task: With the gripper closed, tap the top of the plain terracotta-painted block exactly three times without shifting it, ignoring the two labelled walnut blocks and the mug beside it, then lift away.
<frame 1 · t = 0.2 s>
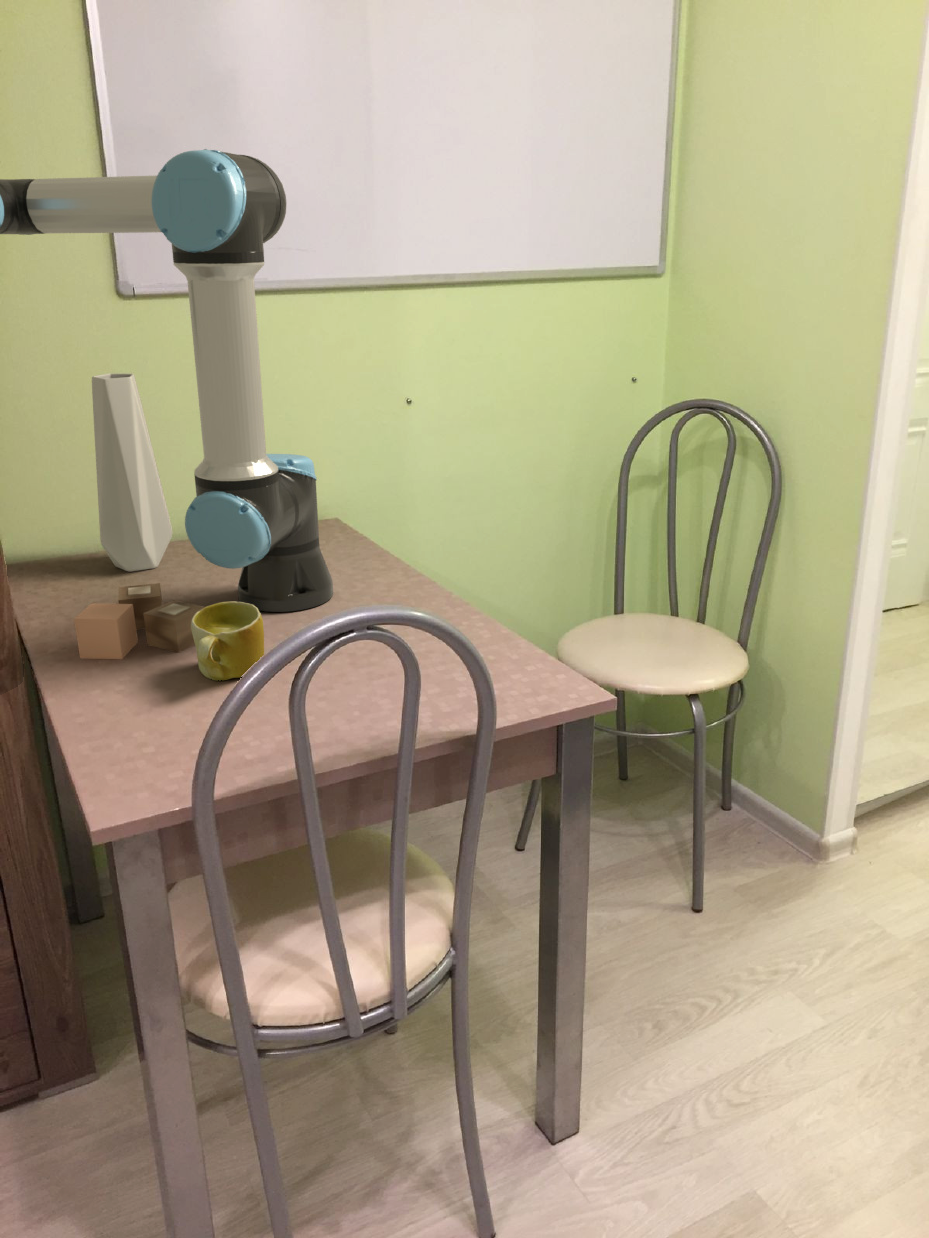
vase: (140, 565, 180), on the table
mug: (226, 675, 136), on the table
plain block: (109, 650, 144), on the table
walnut block a: (178, 642, 146), on the table
walnut block b: (143, 622, 154), on the table
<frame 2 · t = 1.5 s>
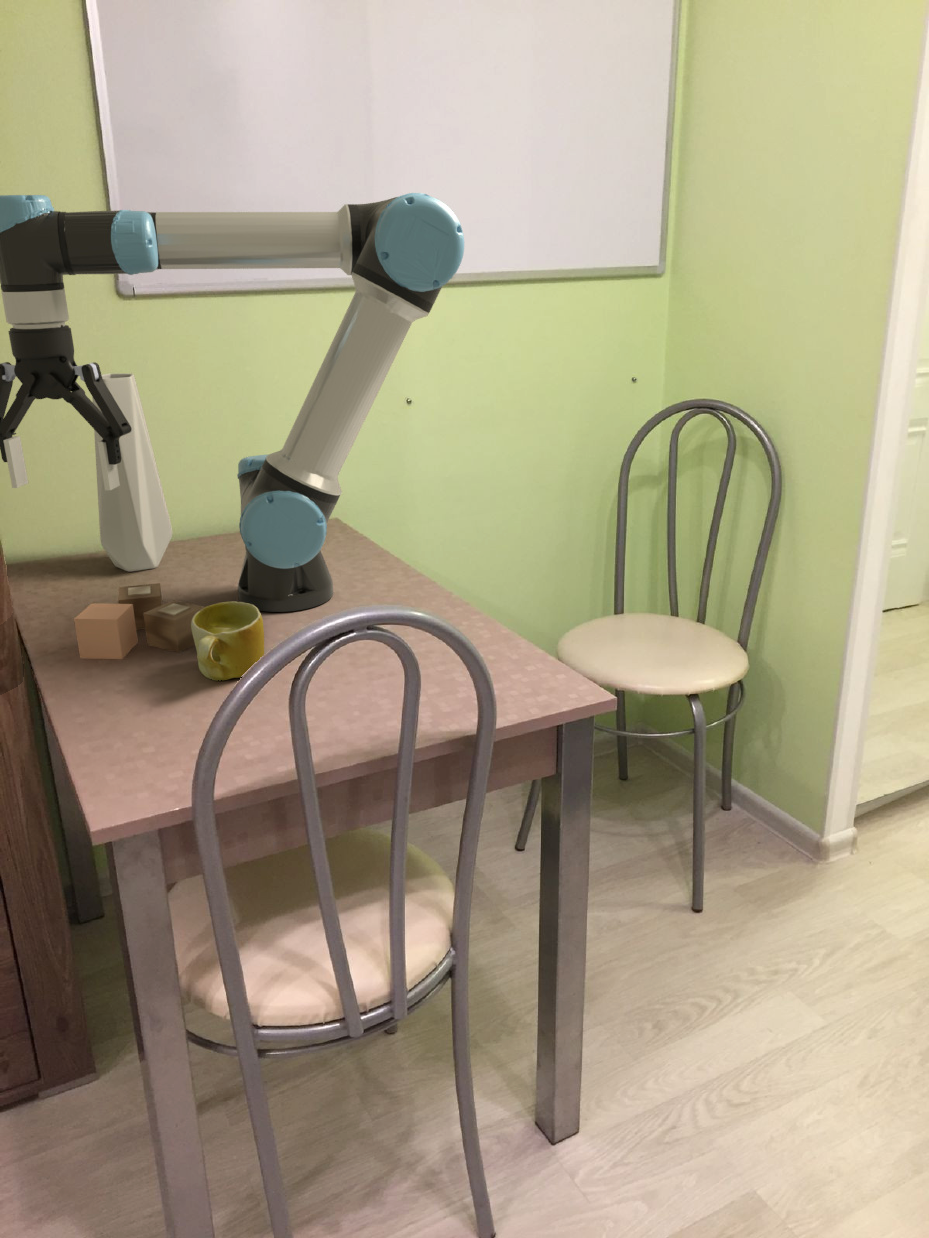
hand: (66, 487, 138), 23 cm above the table, fingers open, 13 cm apart
nothing on the table moved.
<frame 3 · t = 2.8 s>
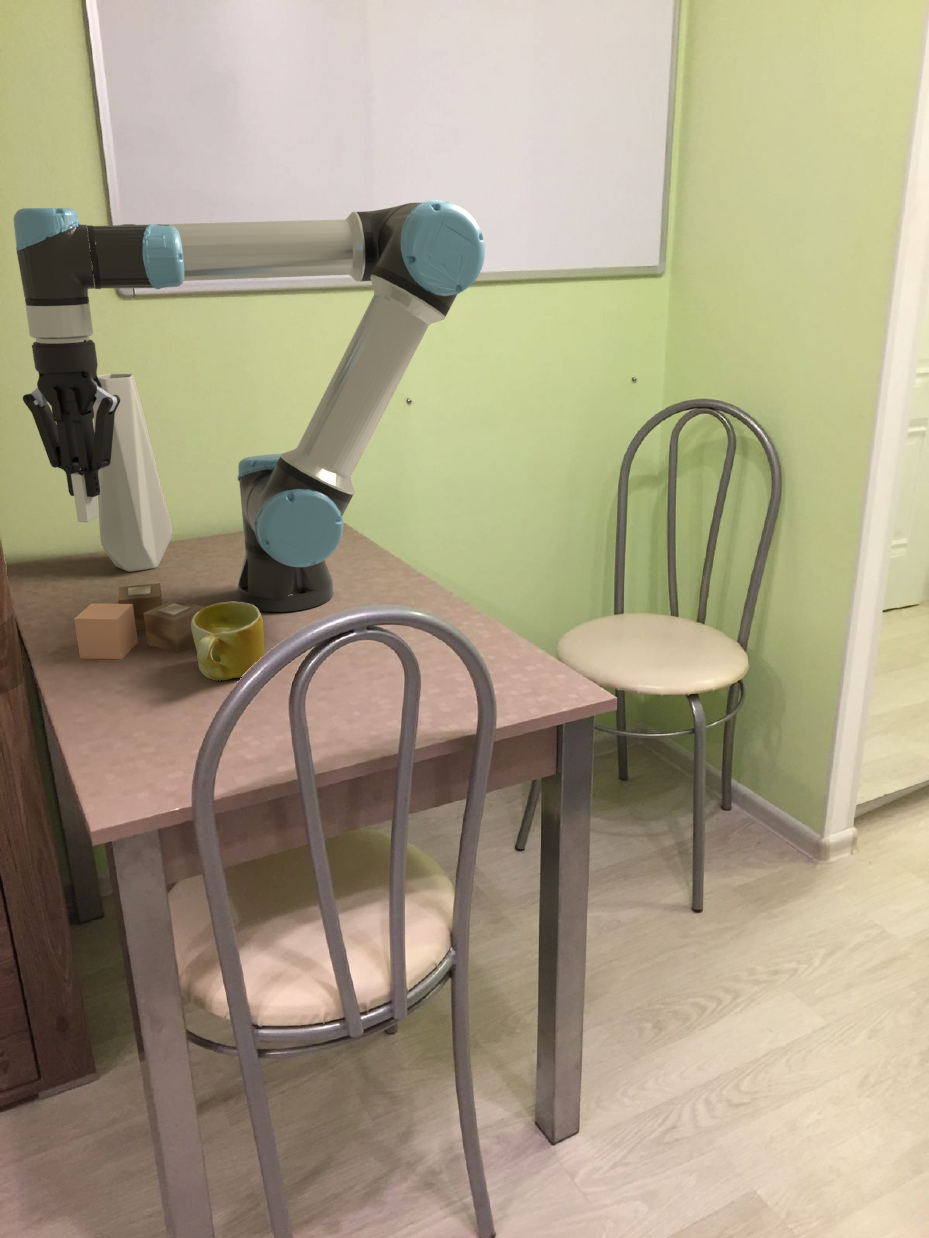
hand: (88, 519, 136), 19 cm above the table, fingers closed
nothing on the table moved.
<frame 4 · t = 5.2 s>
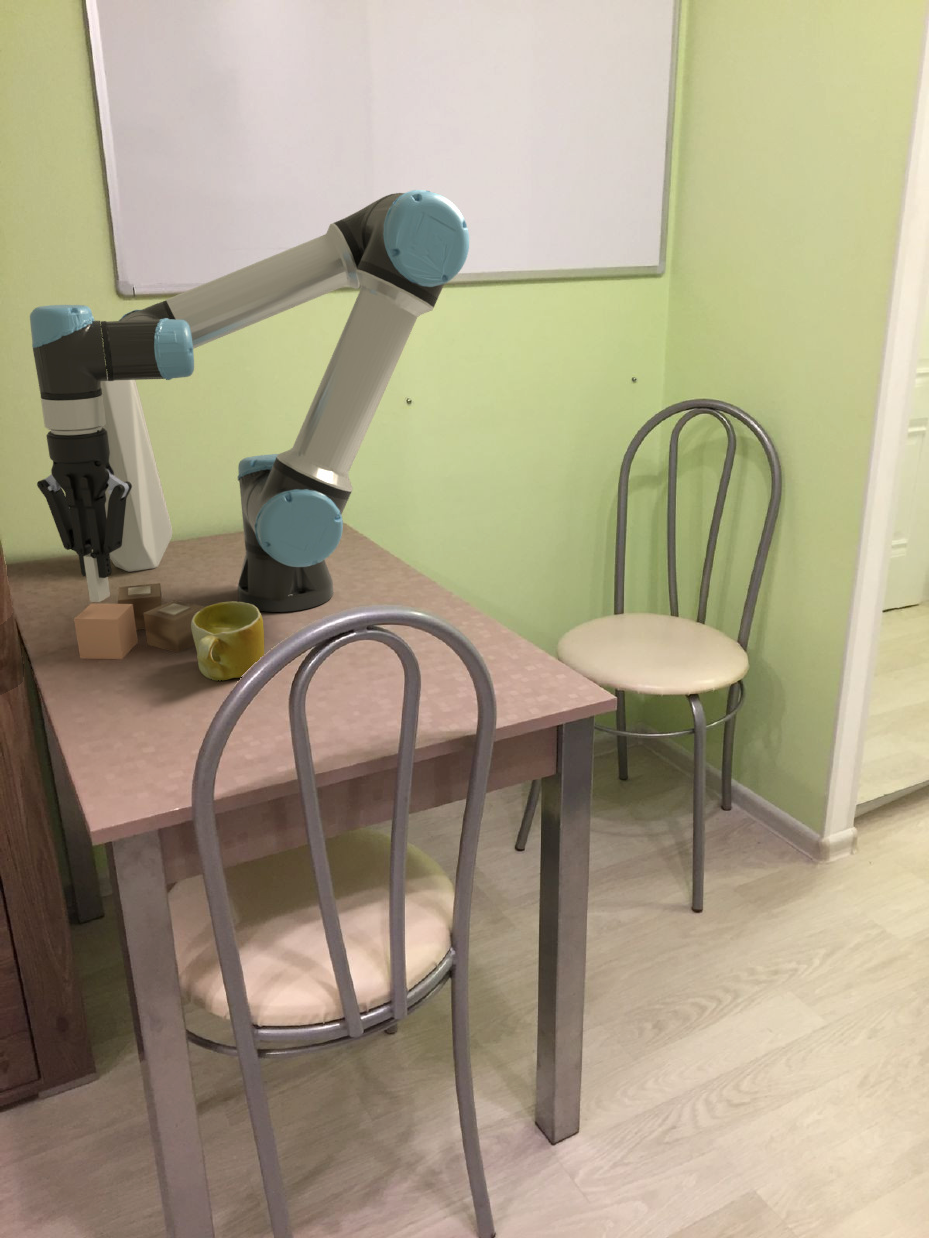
hand: (100, 598, 141), 8 cm above the table, fingers closed
nothing on the table moved.
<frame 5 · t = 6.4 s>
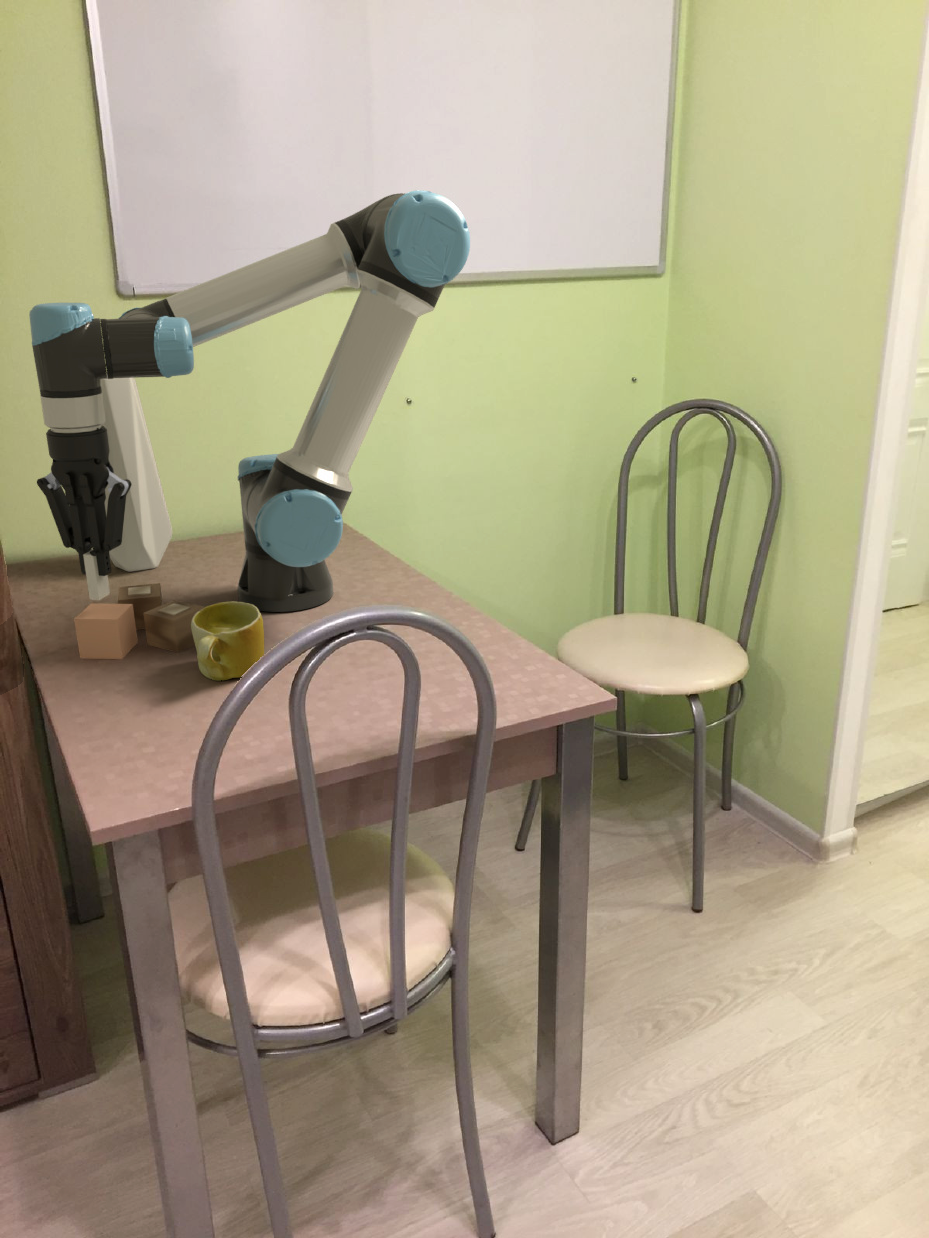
hand: (99, 596, 141), 8 cm above the table, fingers closed
nothing on the table moved.
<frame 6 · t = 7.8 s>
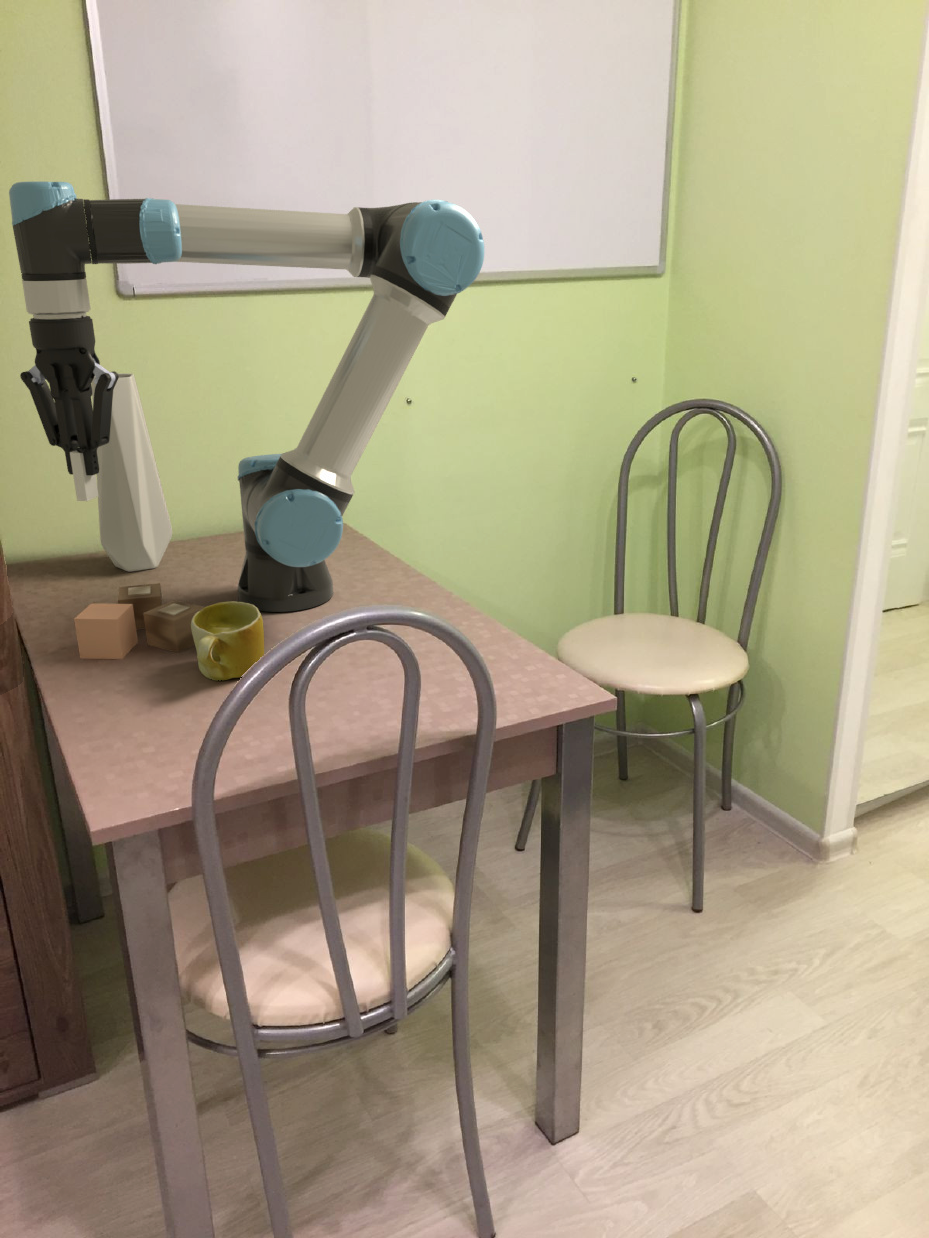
hand: (87, 498, 136), 22 cm above the table, fingers closed
nothing on the table moved.
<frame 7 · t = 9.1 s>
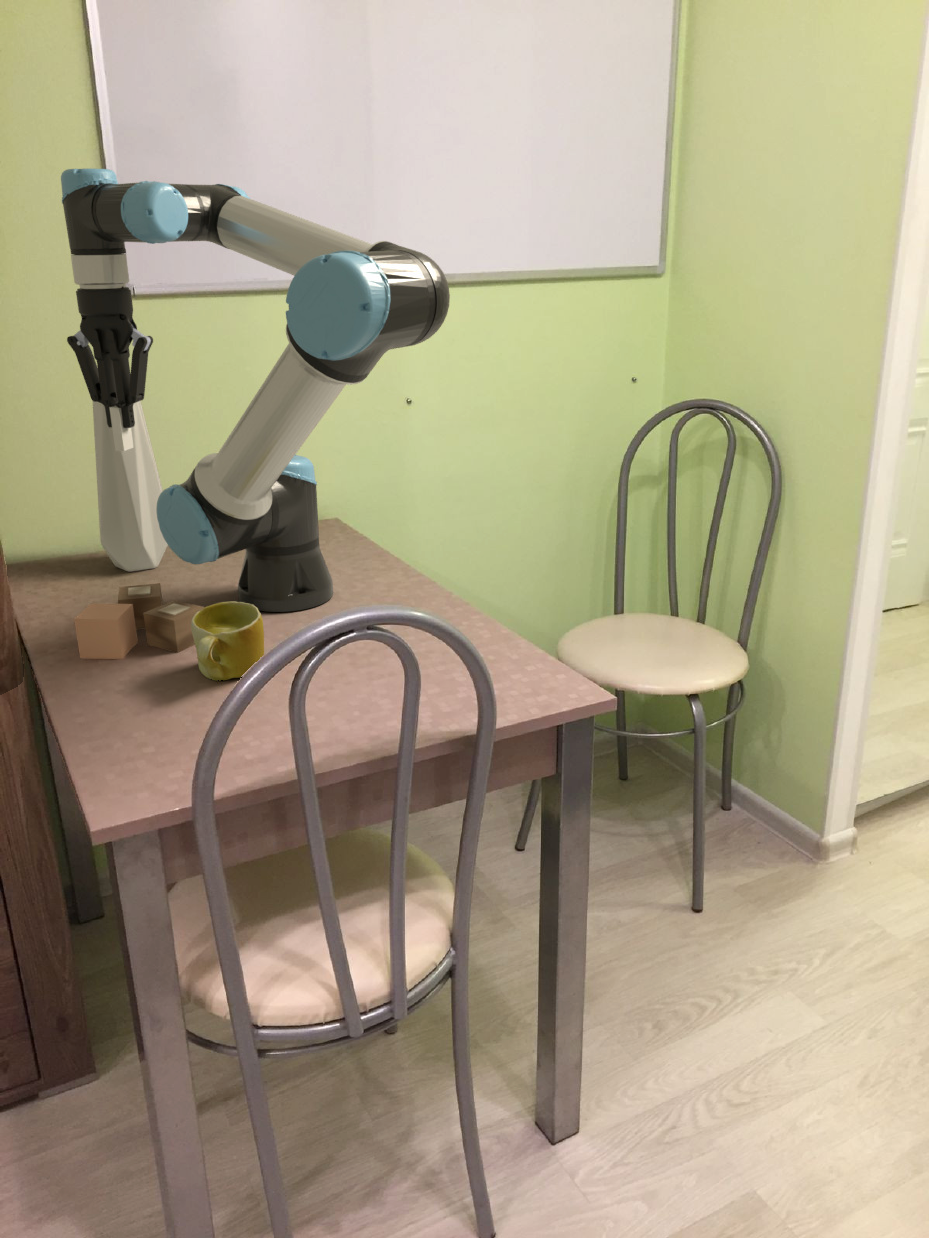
hand: (124, 448, 154), 24 cm above the table, fingers closed
nothing on the table moved.
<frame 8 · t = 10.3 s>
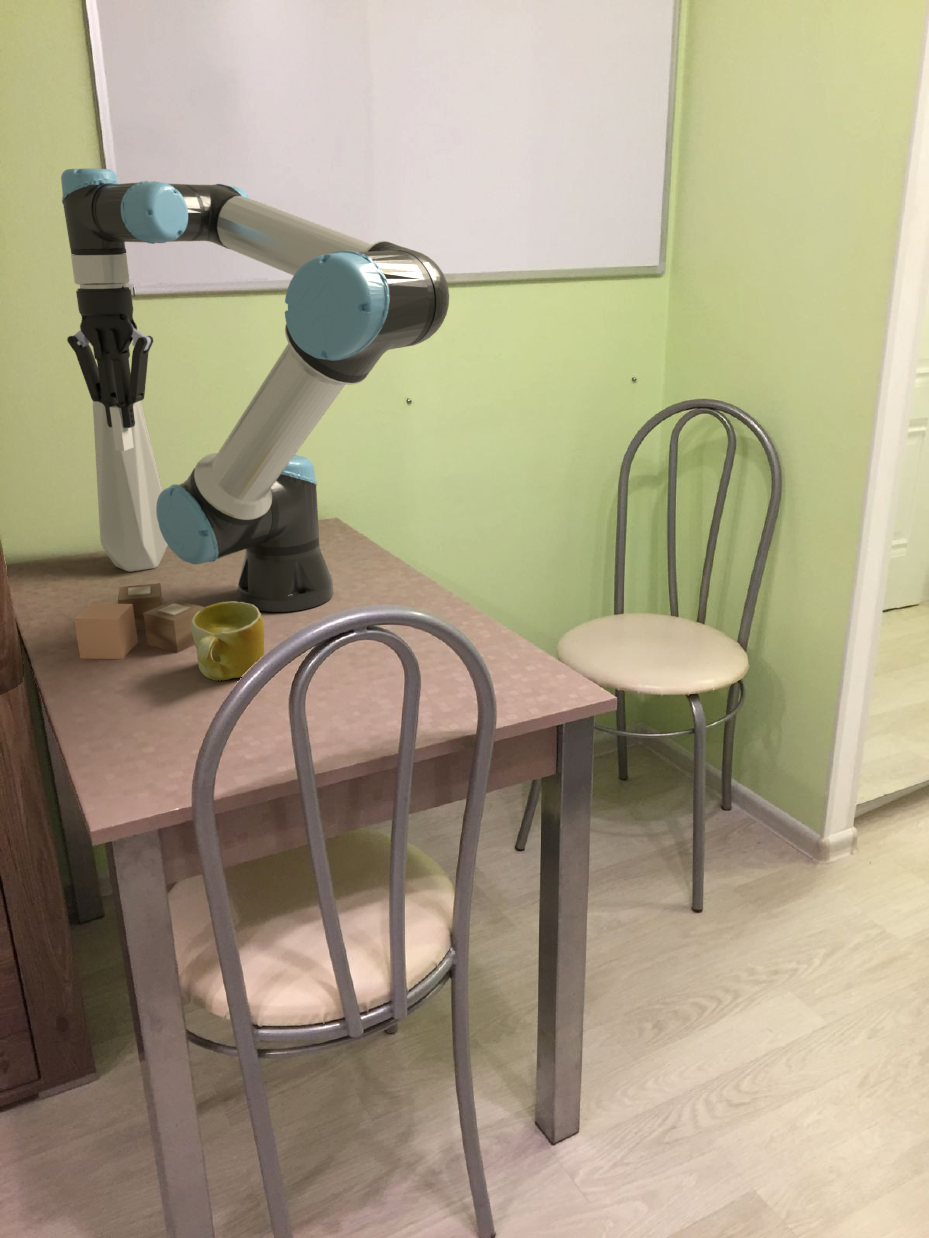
hand: (124, 448, 154), 24 cm above the table, fingers closed
nothing on the table moved.
at the end: plain block moved 0.1 cm from its start; plain block tilted 0°; walnut block a moved 0.2 cm from its start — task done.
